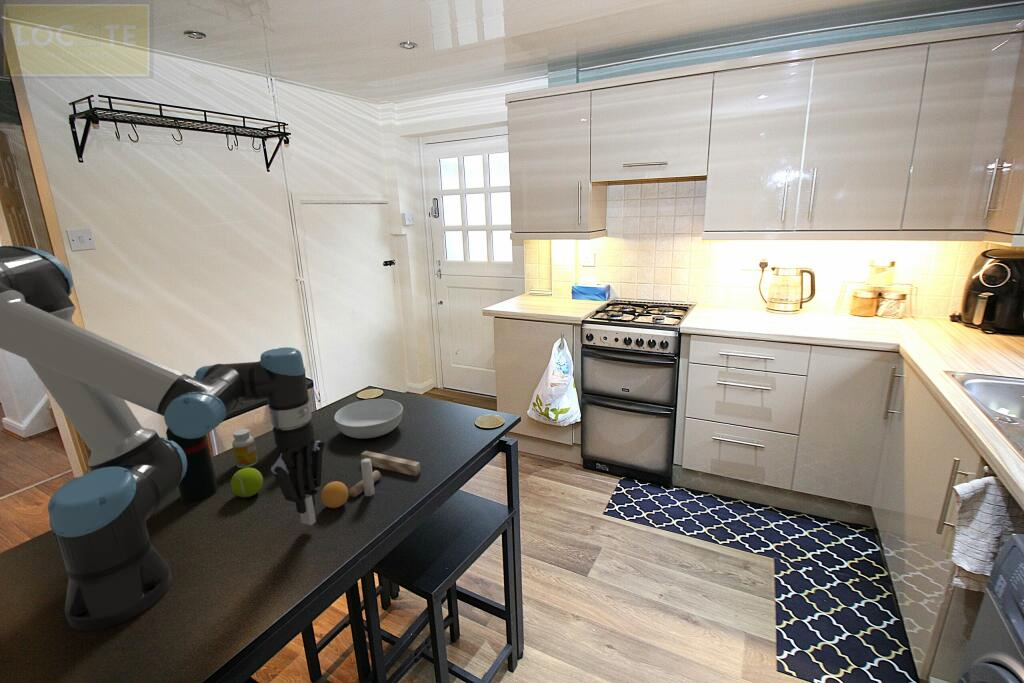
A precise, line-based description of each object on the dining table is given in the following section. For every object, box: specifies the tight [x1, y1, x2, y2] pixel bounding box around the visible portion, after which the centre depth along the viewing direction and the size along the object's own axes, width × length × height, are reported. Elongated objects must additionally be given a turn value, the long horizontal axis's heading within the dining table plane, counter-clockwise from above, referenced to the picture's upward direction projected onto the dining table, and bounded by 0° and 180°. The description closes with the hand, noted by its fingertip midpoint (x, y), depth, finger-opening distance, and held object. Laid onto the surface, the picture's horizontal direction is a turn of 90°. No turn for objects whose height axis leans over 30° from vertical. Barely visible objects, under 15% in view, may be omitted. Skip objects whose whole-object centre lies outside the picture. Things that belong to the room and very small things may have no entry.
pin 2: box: [348, 470, 382, 498], centre depth 121 cm, size 2×2×9 cm
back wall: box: [360, 450, 421, 477], centre depth 130 cm, size 18×2×3 cm, turn 66°
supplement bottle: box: [231, 428, 259, 469], centre depth 134 cm, size 5×5×10 cm
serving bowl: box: [333, 398, 404, 439], centre depth 152 cm, size 21×21×7 cm
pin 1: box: [360, 459, 376, 497], centre depth 117 cm, size 2×2×9 cm
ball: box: [320, 480, 349, 509], centre depth 113 cm, size 6×6×6 cm
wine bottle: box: [165, 427, 219, 504], centre depth 116 cm, size 8×10×30 cm
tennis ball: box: [230, 467, 264, 498], centre depth 119 cm, size 7×7×7 cm
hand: (308, 522), depth 105 cm, fingers closed
